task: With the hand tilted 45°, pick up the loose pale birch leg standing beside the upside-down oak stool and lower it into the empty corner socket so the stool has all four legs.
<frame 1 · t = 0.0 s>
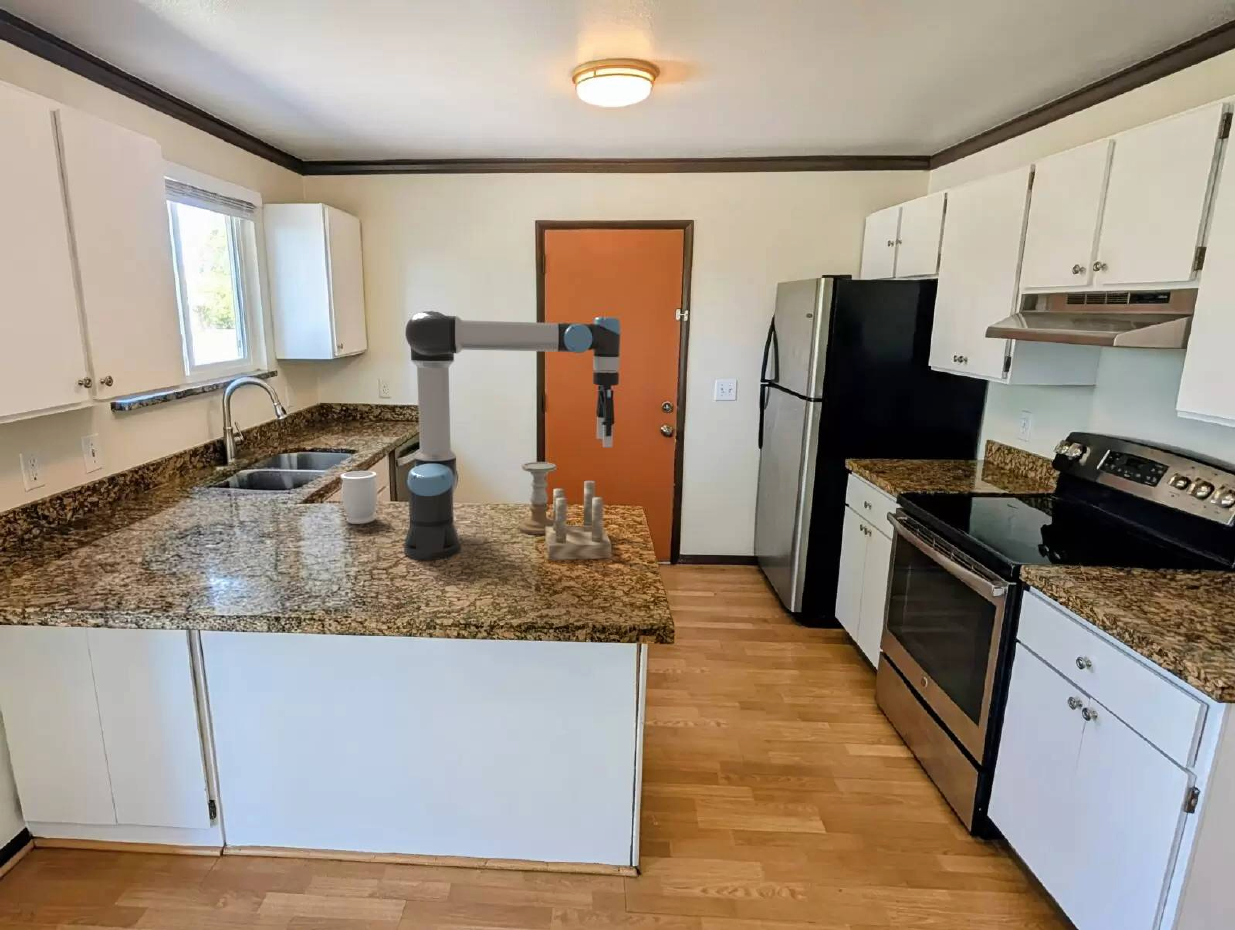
hand: (604, 442, 199), 28 cm above the worktop, tool pointing down, fingers open, 13 cm apart
candle holder: (538, 529, 206), on the worktop
stool: (576, 548, 189), on the worktop
stool leg: (588, 532, 204), on the worktop
jar: (361, 521, 209), on the worktop
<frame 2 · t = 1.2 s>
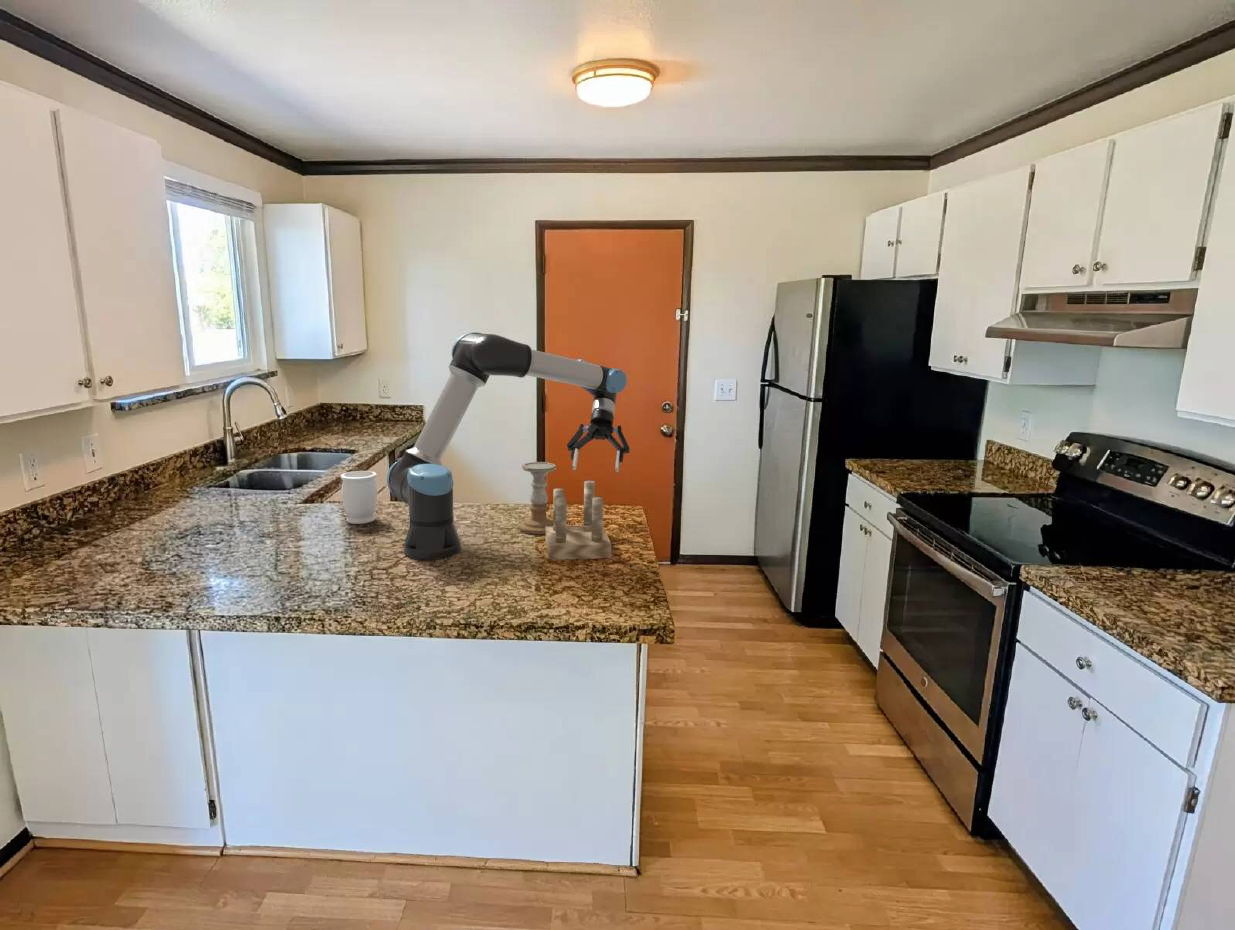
hand: (595, 469, 210), 18 cm above the worktop, tool tilted 45°, fingers open, 13 cm apart
nothing on the worktop moved.
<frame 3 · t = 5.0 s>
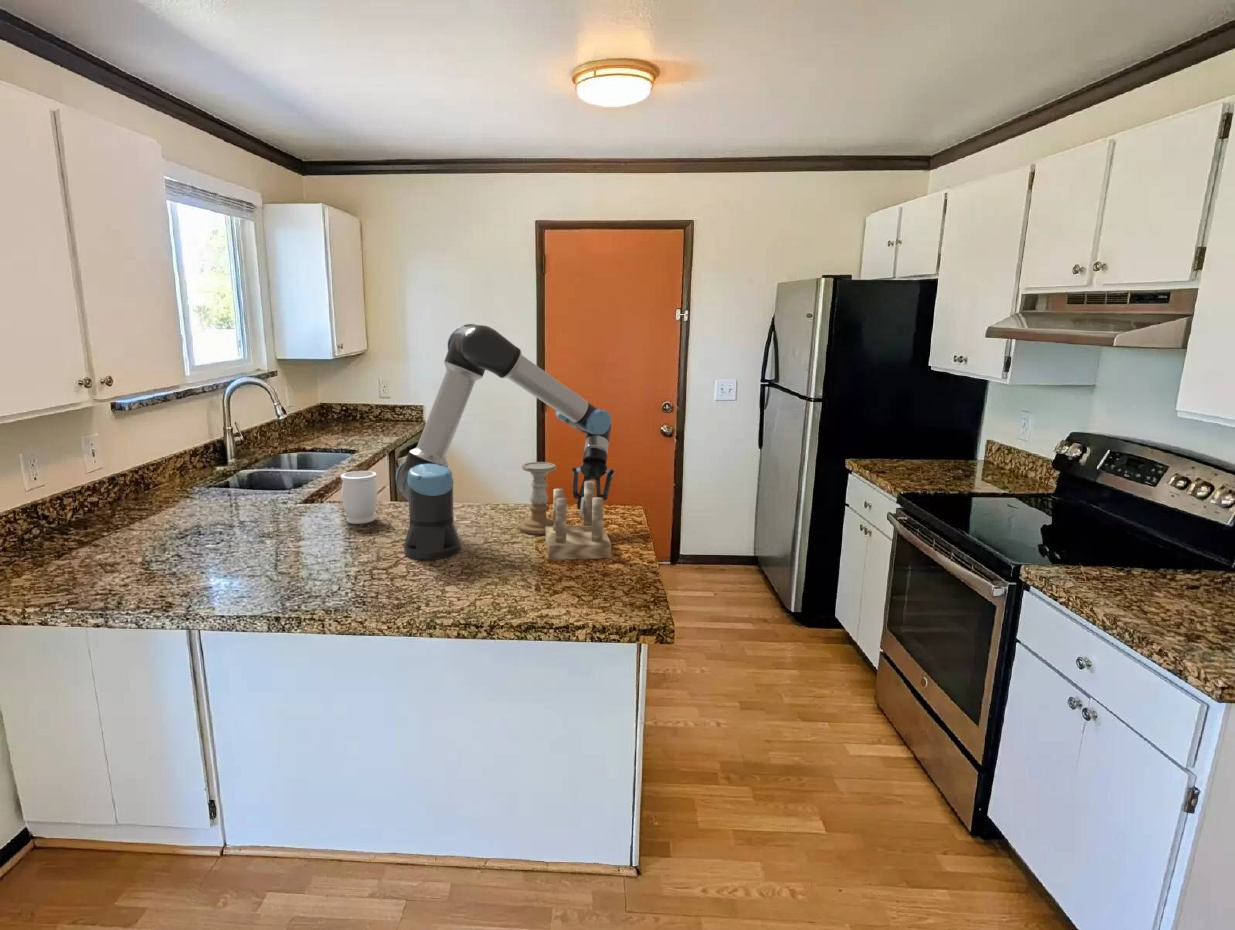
hand: (587, 518, 199), 6 cm above the worktop, tool tilted 45°, fingers closed on stool leg, 3 cm apart
stool leg: (588, 532, 204), on the worktop, touching gripper
everything else where it was.
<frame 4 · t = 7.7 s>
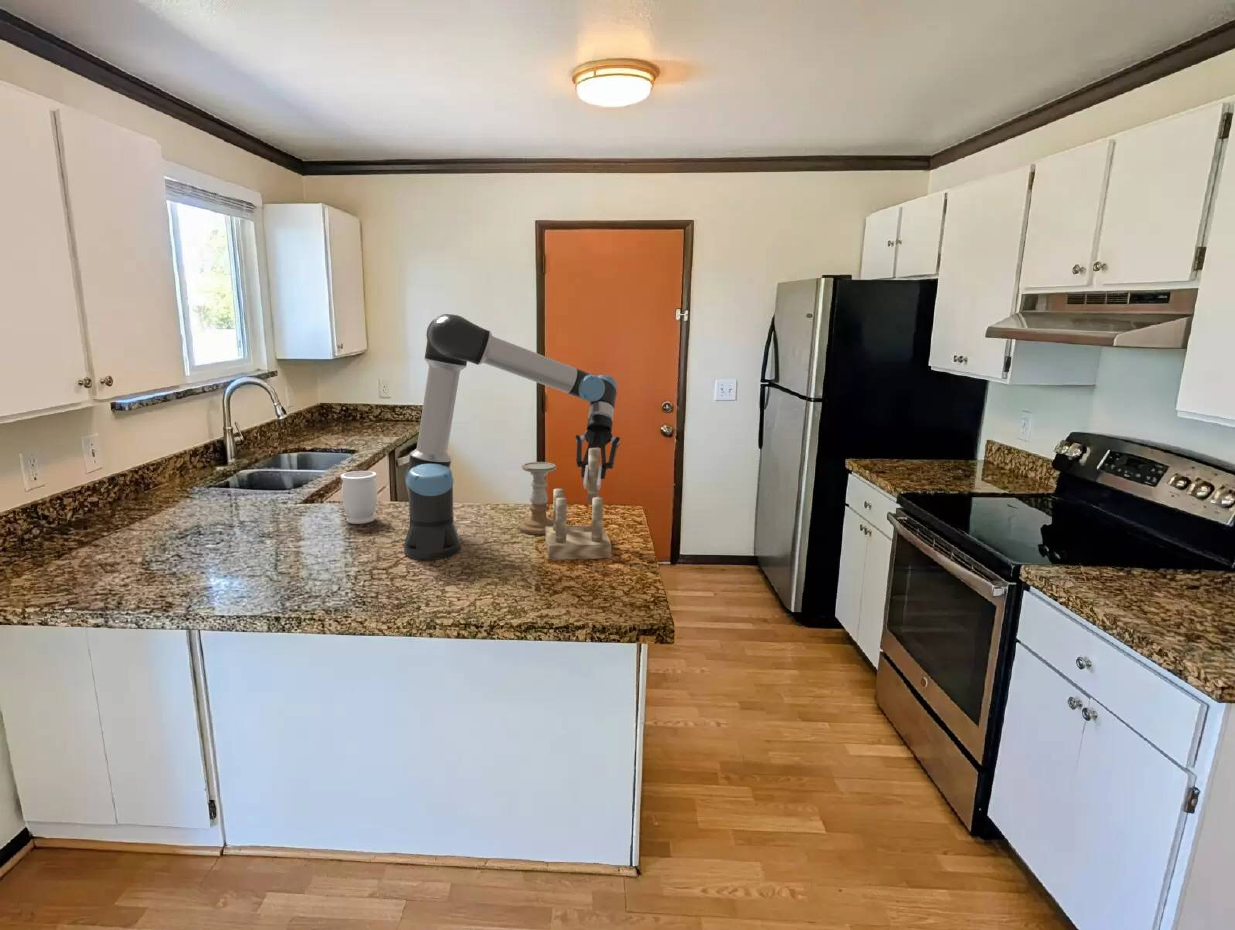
hand: (591, 487, 188), 18 cm above the worktop, tool tilted 45°, fingers closed on stool leg, 3 cm apart
stool leg: (593, 503, 193), point 12 cm above the worktop, touching gripper
everything else where it was.
when the fingers open (8 cm above the worktop, at t = 10.2 s): stool leg drops 2 cm, resting in stool.
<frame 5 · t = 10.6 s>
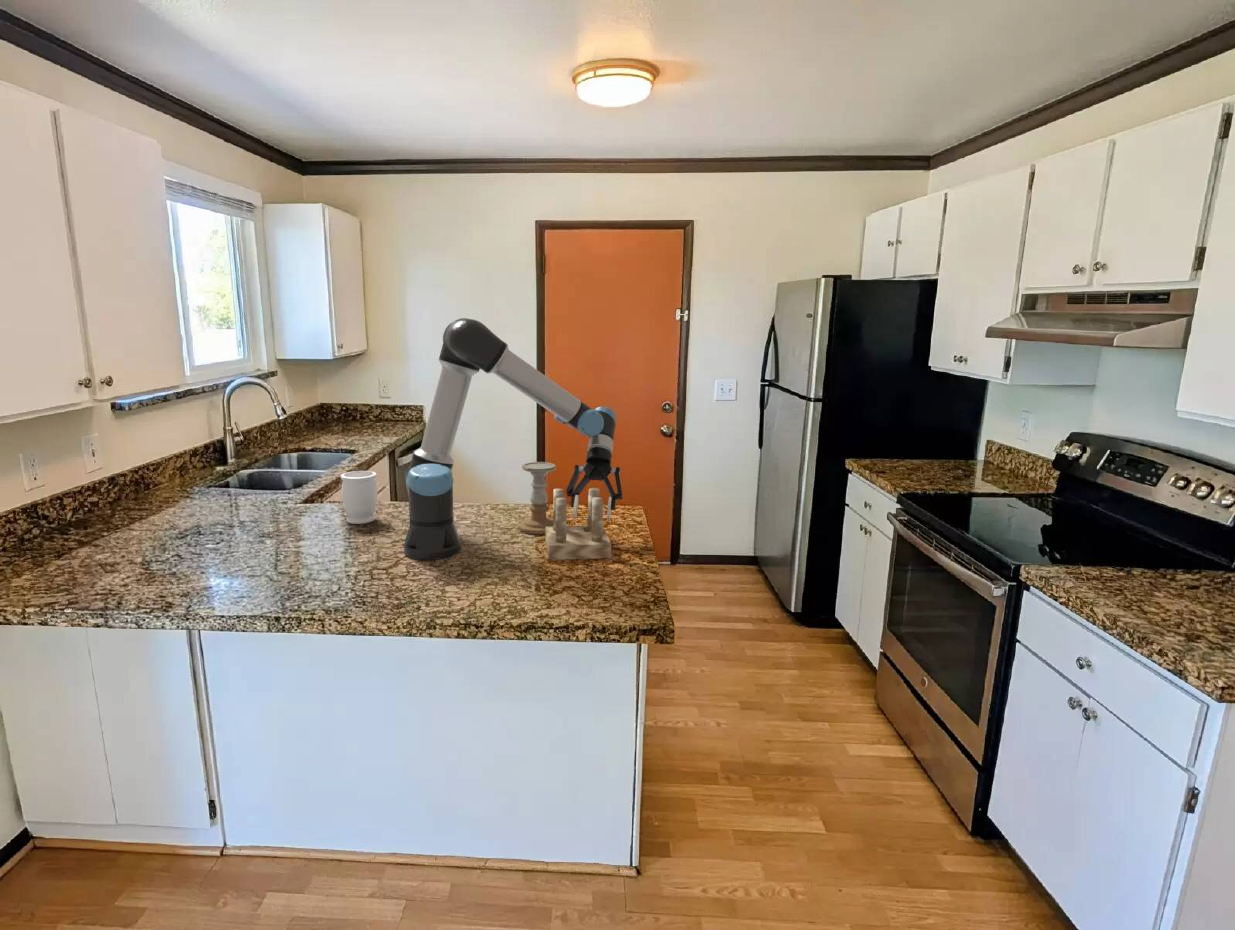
hand: (591, 517, 190), 8 cm above the worktop, tool tilted 45°, fingers open, 9 cm apart
stool leg: (592, 542, 195), resting in stool
everything else where it was.
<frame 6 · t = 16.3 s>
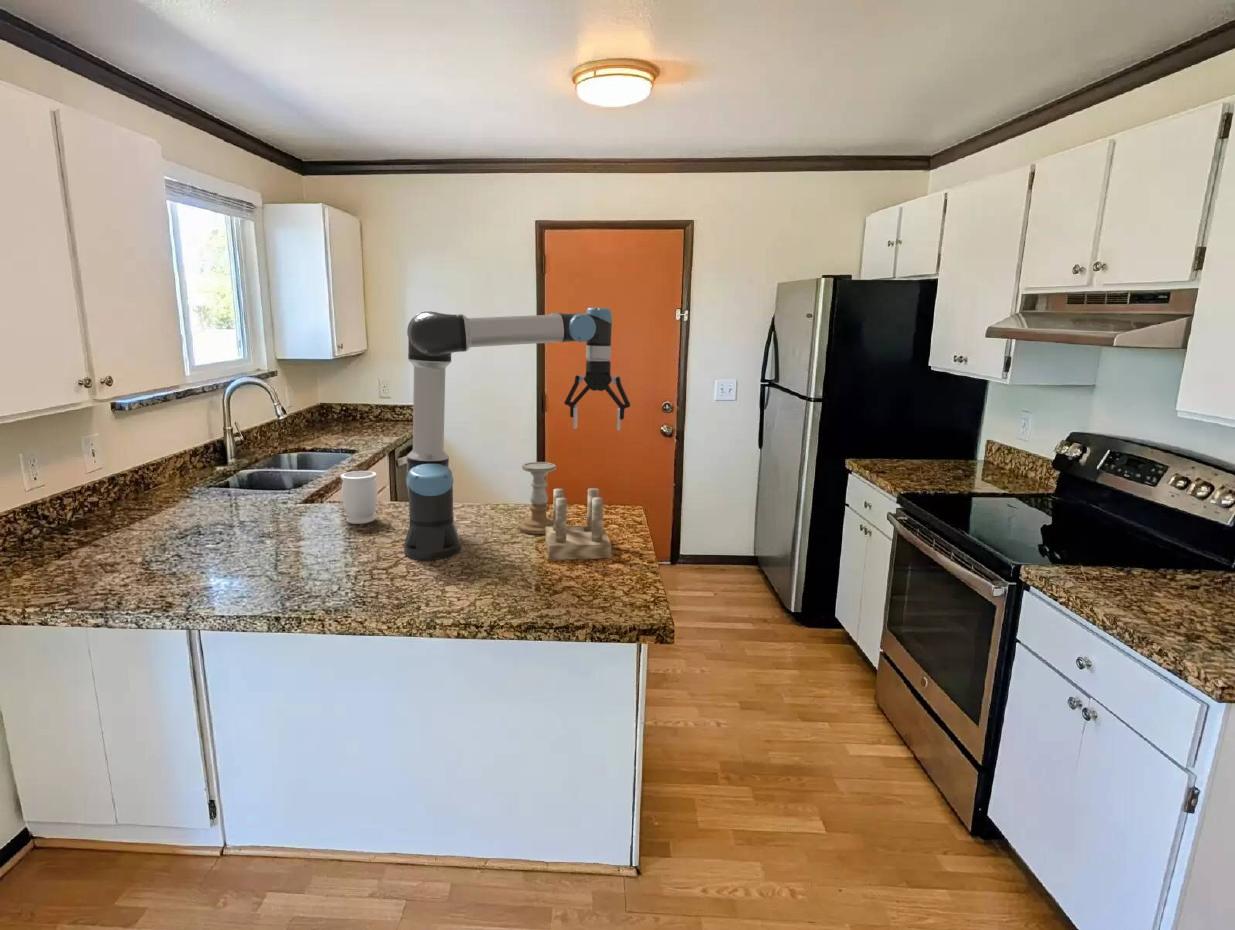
hand: (596, 429, 206), 31 cm above the worktop, tool pointing down, fingers open, 13 cm apart
nothing on the worktop moved.
at the end: stool leg 0.0 cm from the target spot on the stool, point 0.0 cm above the stool's base; stool leg tilted 0°; the gripper is holding nothing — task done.
